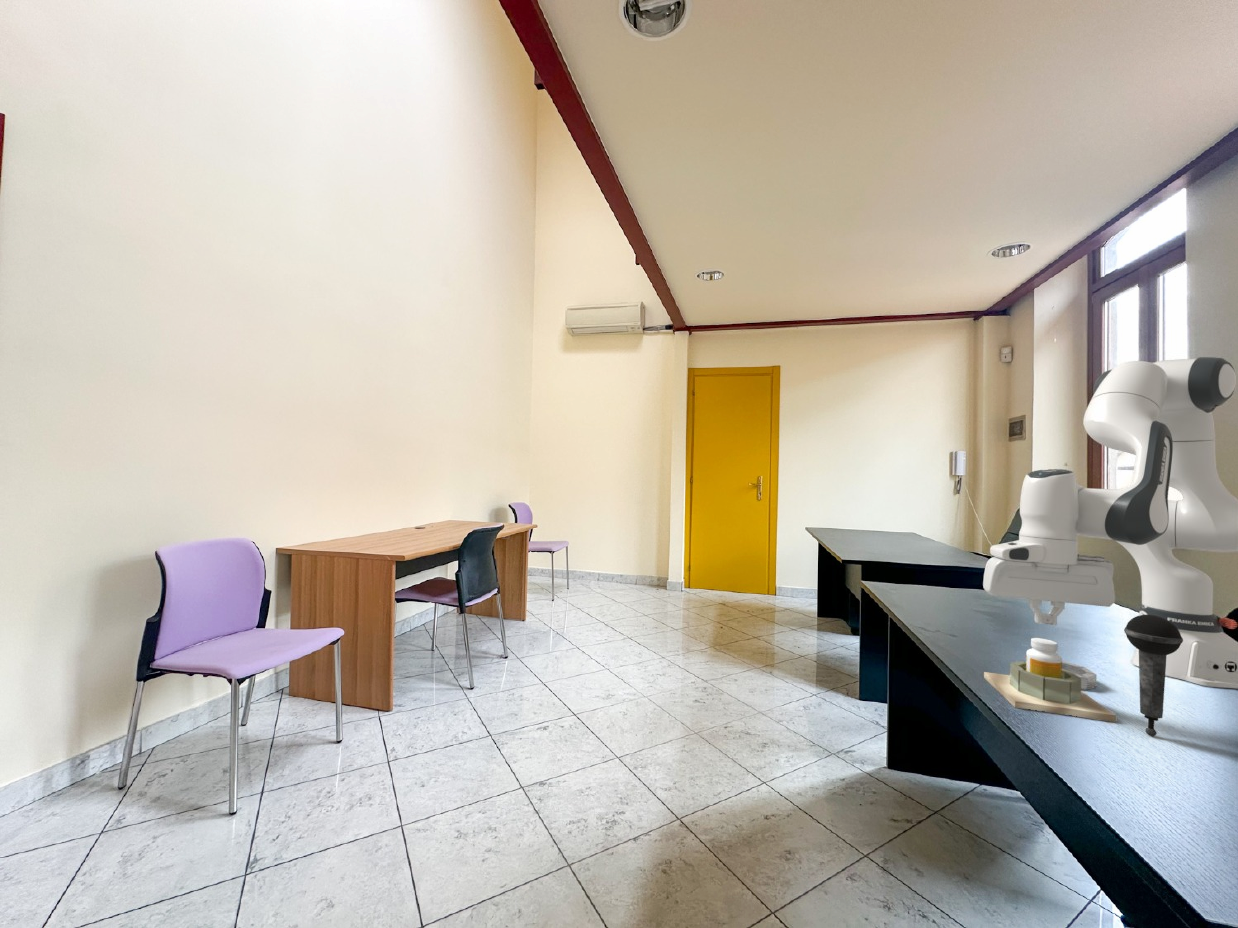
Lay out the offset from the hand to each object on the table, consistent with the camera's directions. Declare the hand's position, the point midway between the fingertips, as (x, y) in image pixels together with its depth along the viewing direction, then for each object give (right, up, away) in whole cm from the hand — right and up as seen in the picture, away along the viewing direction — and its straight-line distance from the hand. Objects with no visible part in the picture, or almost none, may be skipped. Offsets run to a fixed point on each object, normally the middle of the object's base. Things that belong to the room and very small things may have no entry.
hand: (1045, 623), depth 100 cm
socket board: (0, -14, 0) cm, 14 cm away
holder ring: (+12, -15, +10) cm, 22 cm away
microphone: (+6, -15, -14) cm, 21 cm away
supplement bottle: (0, -13, 0) cm, 13 cm away
